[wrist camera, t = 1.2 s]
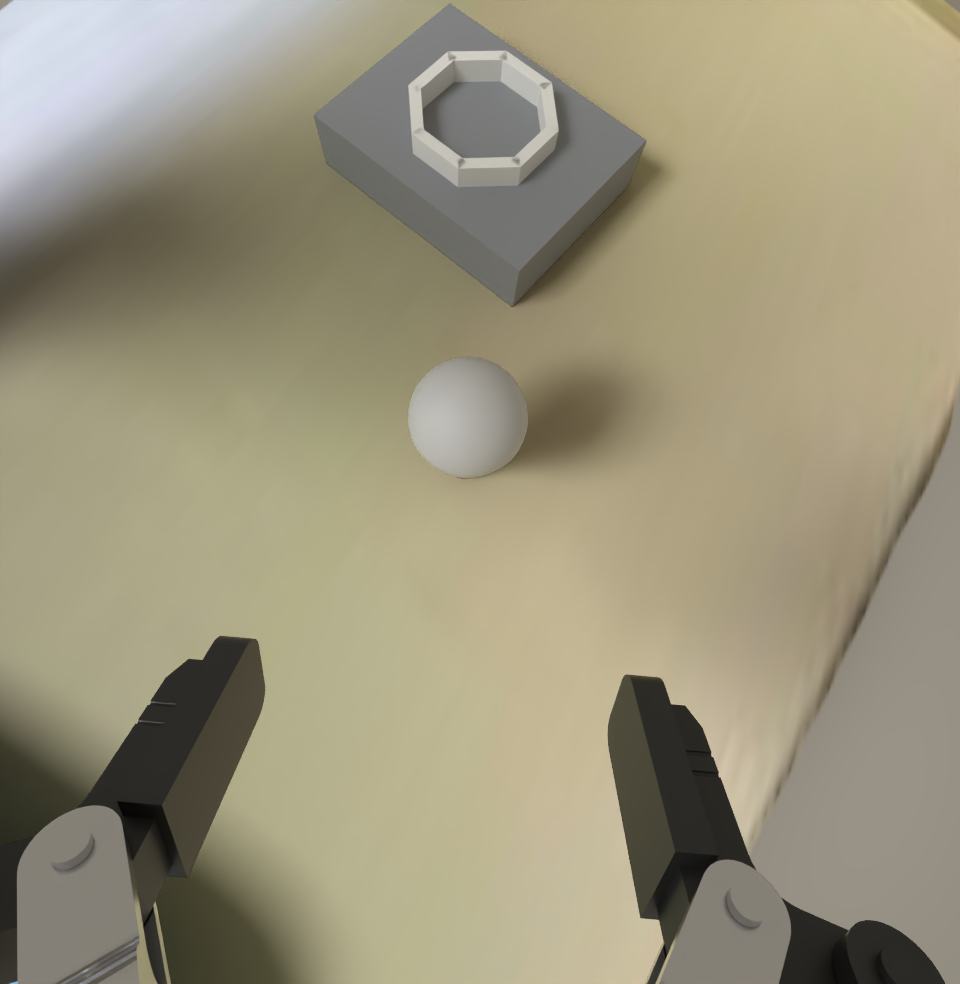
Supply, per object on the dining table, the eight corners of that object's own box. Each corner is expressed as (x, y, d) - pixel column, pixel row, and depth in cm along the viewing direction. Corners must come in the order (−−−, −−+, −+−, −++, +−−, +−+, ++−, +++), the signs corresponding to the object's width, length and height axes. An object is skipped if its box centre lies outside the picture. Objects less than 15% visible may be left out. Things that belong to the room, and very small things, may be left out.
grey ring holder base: (326, 163, 41) (308, 93, 36) (449, 58, 44) (449, -21, 39) (512, 307, 39) (522, 255, 33) (628, 185, 42) (654, 121, 36)
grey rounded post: (524, 439, 36) (554, 361, 26) (491, 523, 35) (508, 477, 24) (439, 406, 37) (434, 315, 26) (402, 488, 35) (381, 427, 24)
